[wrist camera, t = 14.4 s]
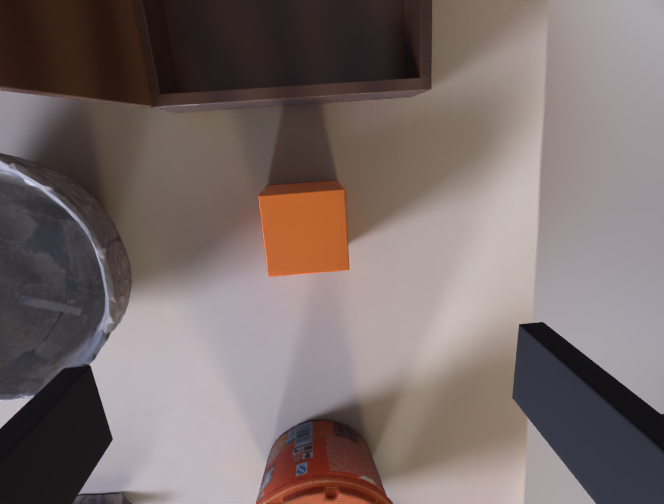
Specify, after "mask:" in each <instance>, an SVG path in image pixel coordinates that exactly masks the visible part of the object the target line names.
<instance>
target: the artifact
mask: <svg viewBox="0 0 664 504" xmlns="http://www.w3.org/2000/svg"><path fill="white" fill-rule="evenodd" d="M72 504H131V503H130V502H129V501H128V499H127V498H126V497H125V496H124V495H123V494H121V493H119V494H115V493H114V494H105V495H100V494H99V495H93V496H92V495H80V496H77V497H76V498H75V500H74V501H73V503H72Z"/></svg>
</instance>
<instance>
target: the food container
mask: <svg viewBox="0 0 664 504" xmlns="http://www.w3.org/2000/svg"><path fill="white" fill-rule="evenodd" d="M256 504H393V503H392V502H391V500H390V499H389V498H388V497H387V496H386V493H385V490H384V488H383V485H382V482H381V479H380V477H379V474H378V471H377V469H376V466H375V463H374V460H373V458H372V455H371V452H370V449H369V447H368V445H367V443H366V441H365V440H364V439H363V438H362V436H361V435H360V434H359V433H357V432H356V431H355V430H354V429H352V428H350V427H348V426H347V425H344V424H342V423H339V422H334V421H326V420H316V421H311V422H306V423H303V424H300V425H298V426H296V427H294V428H292V429H290V430H288V431H286V432H285V433H283V434H282V435H281V436H280V437H279V438H278V439H277V440H276V442H275V443H274V445H273V446H272V448H271V451H270V453H269V457H268V460H267V464H266V468H265V472H264V475H263V479H262V483H261V486H260V490H259V494H258V497H257V501H256Z"/></svg>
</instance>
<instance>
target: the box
mask: <svg viewBox="0 0 664 504" xmlns="http://www.w3.org/2000/svg"><path fill="white" fill-rule="evenodd" d="M132 4H133V9H134V15H135V20H136V25H137V30H138V35H139V40H140V45H141V50H142V55H143V61H144V66H145V71H146V76H147V81H148V86H149V91H150V96H151V102H152V107H151V108H156V109H160V110H165V111H170V112H175V113H180V112H195V111H210V110H225V109H241V108H256V107H271V106H286V105H301V104H316V103H331V102H346V101H361V100H377V99H392V98H407V97H412V96H415V95H418V94H420V93H423V92H425V91H428V90H430V89H431V50H432V0H132Z"/></svg>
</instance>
